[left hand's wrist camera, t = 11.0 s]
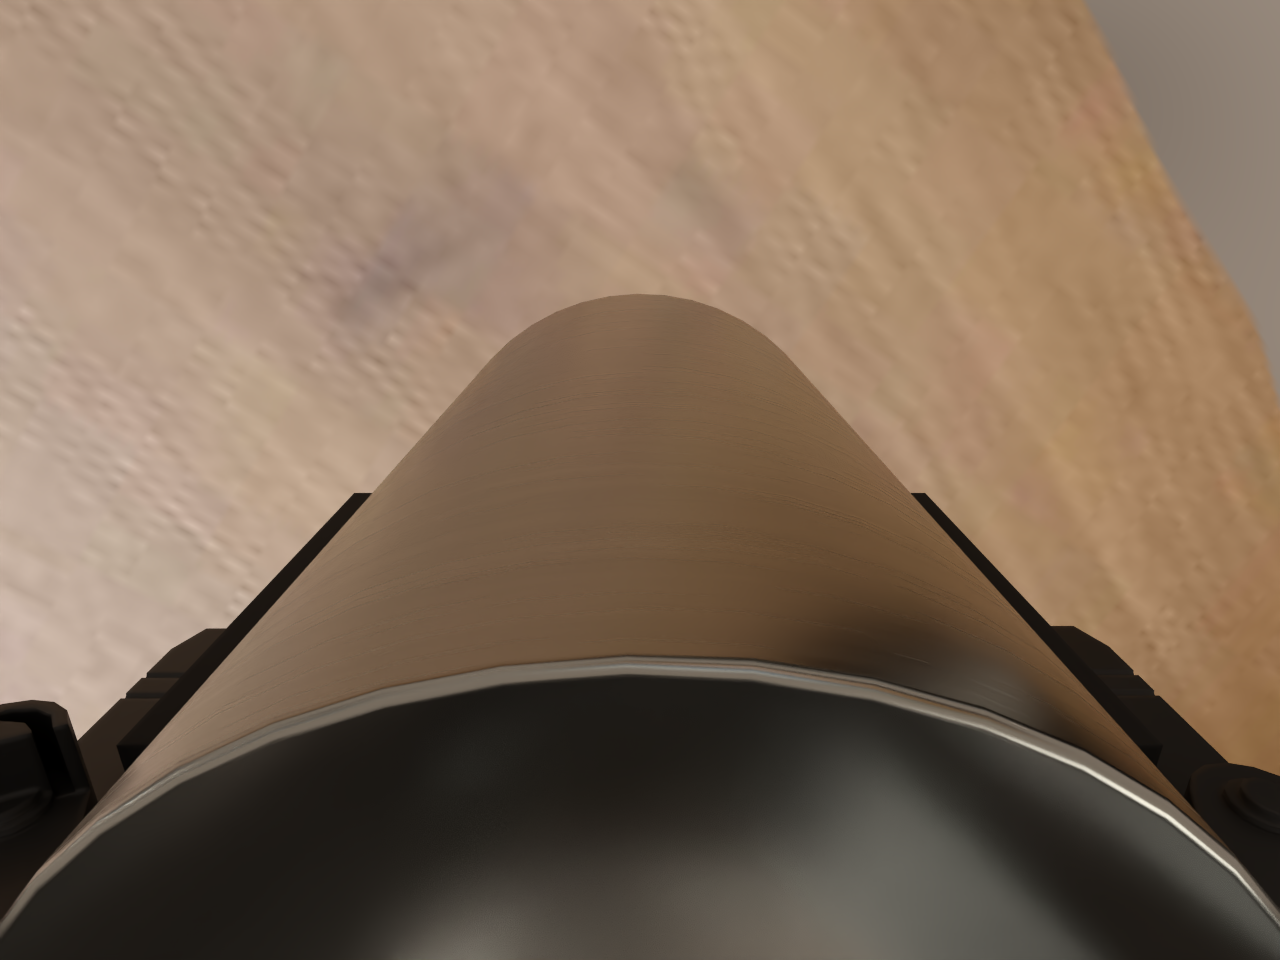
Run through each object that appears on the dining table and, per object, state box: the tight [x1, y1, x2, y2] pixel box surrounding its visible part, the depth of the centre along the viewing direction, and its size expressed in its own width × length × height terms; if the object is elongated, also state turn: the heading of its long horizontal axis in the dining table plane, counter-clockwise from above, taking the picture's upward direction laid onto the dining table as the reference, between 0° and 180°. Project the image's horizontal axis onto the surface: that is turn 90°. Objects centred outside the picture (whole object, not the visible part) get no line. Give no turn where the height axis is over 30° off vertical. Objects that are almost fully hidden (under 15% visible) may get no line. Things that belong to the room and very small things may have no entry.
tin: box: [0, 294, 1280, 960], centre depth 11 cm, size 9×9×13 cm
